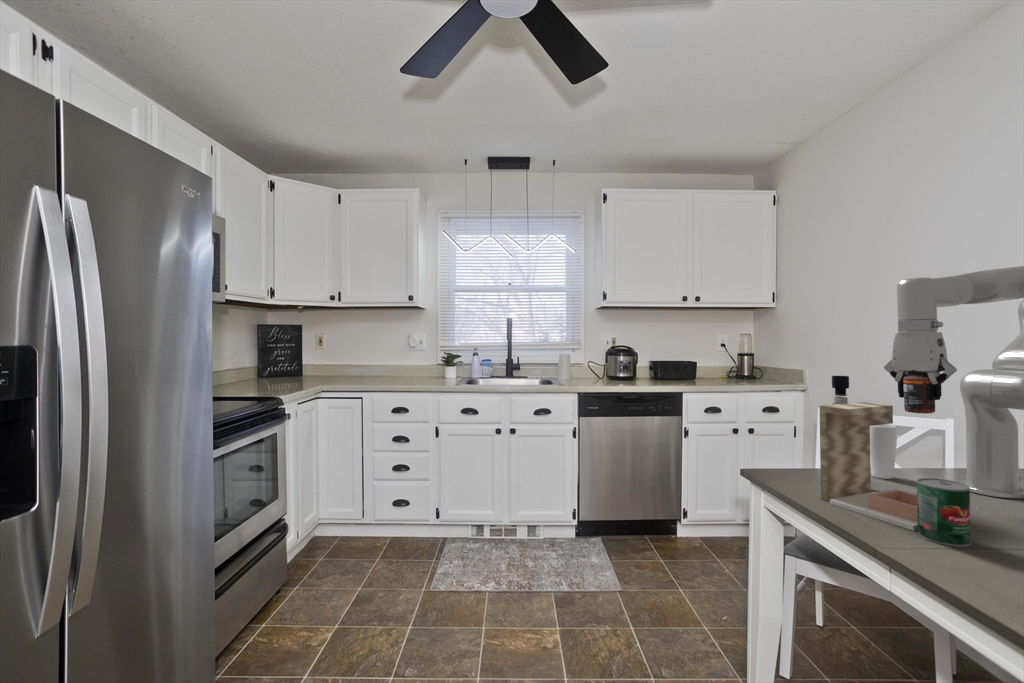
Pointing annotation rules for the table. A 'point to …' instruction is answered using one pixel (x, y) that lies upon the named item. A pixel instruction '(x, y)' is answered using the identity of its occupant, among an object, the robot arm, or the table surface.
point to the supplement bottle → (917, 393)
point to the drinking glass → (883, 450)
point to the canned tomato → (943, 511)
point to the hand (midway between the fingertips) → (919, 397)
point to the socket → (884, 506)
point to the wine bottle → (840, 388)
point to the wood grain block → (848, 446)
